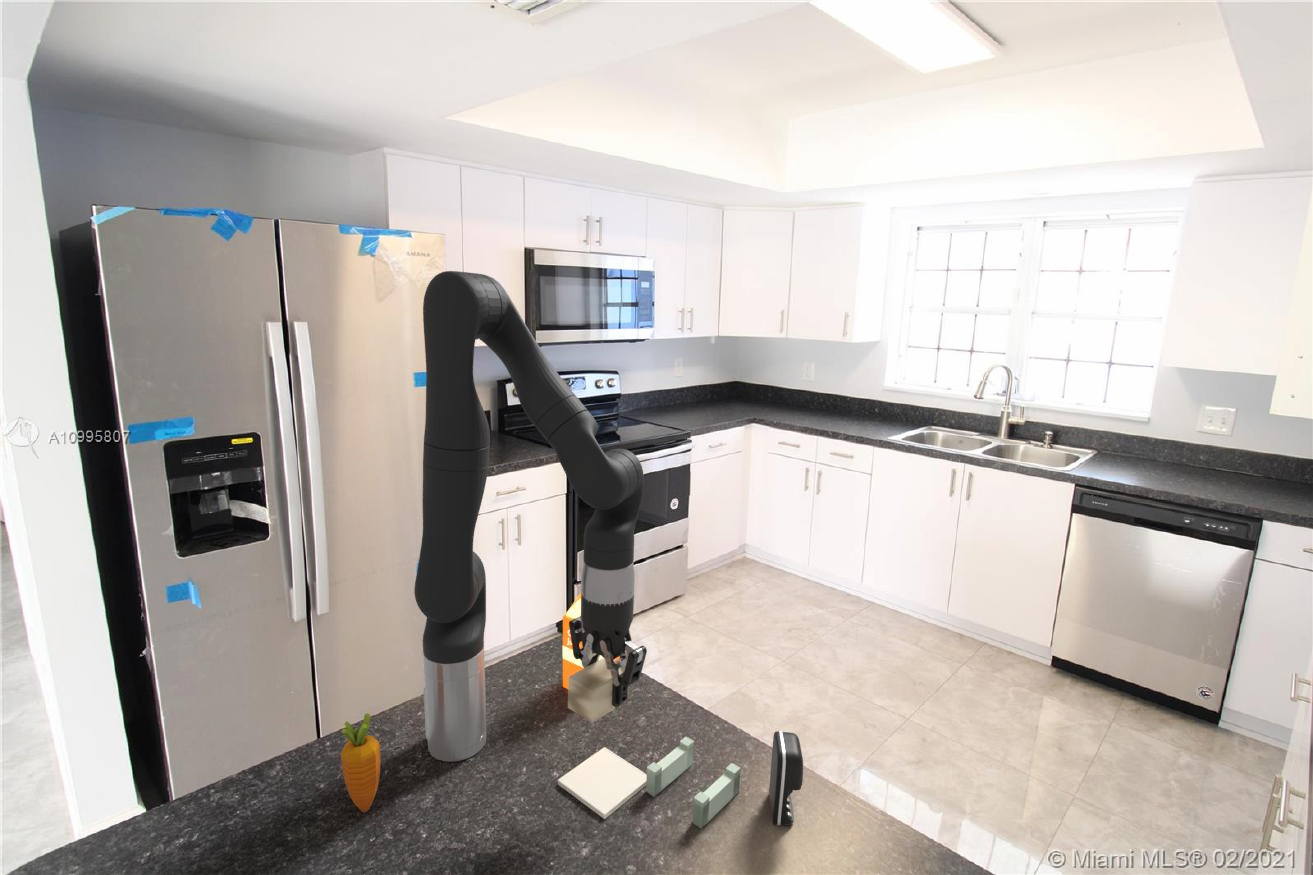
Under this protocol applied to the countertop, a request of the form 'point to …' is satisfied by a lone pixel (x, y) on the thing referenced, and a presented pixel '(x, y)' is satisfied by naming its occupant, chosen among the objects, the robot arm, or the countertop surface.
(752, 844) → the countertop surface
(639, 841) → the countertop surface
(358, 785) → the carrot
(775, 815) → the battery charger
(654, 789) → the rails
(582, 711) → the block
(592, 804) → the plate
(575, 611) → the orange juice
